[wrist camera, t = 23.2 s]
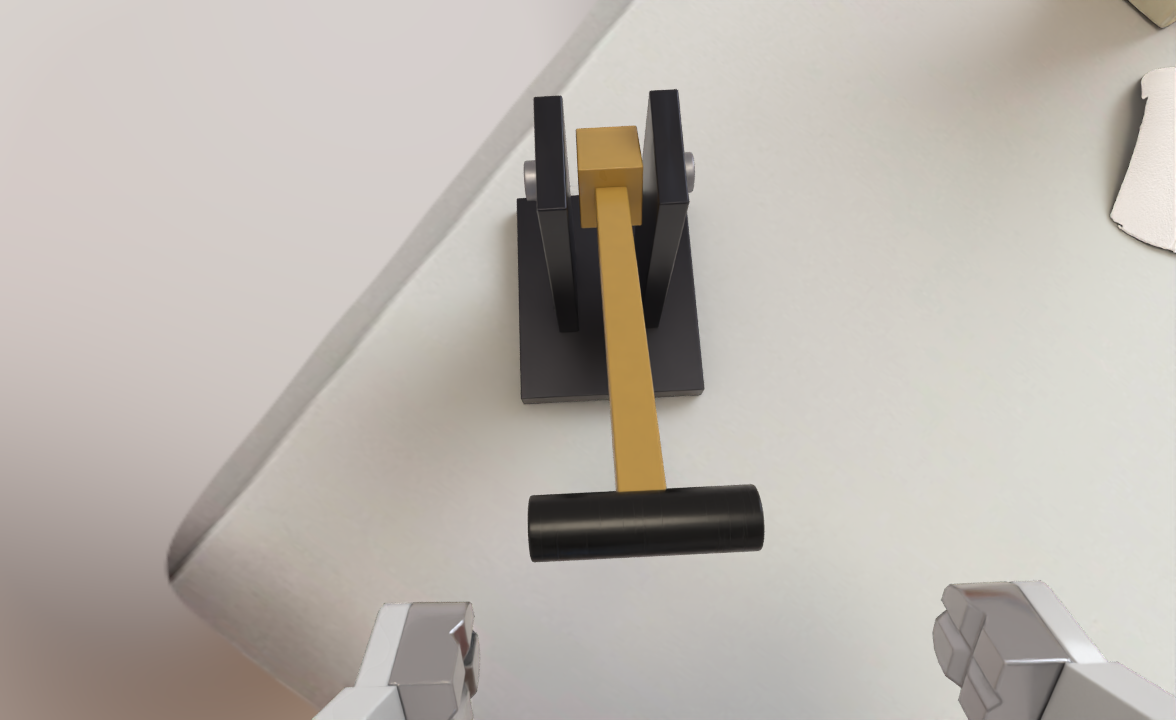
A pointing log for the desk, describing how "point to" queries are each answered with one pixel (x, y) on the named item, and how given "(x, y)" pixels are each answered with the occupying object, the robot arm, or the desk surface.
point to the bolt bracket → (572, 272)
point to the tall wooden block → (1157, 10)
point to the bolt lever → (632, 404)
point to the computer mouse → (1152, 167)
